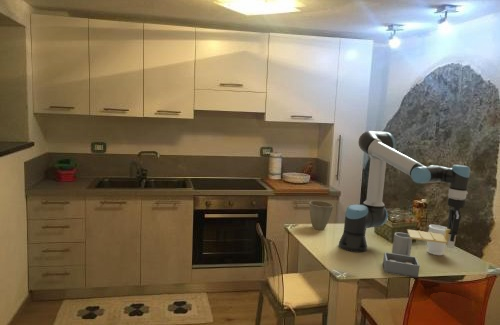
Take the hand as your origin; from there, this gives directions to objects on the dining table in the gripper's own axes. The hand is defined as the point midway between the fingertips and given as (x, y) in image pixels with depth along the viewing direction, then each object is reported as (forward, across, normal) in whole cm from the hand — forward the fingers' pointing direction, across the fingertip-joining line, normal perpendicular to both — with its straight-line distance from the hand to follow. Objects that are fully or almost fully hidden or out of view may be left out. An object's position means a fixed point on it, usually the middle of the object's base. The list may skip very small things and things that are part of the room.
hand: (449, 246), depth 198 cm
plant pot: (+14, +48, +65) cm, 83 cm away
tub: (+15, -3, +21) cm, 26 cm away
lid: (-3, 0, +9) cm, 9 cm away
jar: (+15, +34, -1) cm, 38 cm away
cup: (+15, +18, +19) cm, 30 cm away
